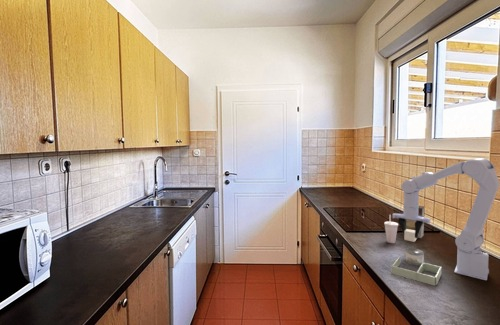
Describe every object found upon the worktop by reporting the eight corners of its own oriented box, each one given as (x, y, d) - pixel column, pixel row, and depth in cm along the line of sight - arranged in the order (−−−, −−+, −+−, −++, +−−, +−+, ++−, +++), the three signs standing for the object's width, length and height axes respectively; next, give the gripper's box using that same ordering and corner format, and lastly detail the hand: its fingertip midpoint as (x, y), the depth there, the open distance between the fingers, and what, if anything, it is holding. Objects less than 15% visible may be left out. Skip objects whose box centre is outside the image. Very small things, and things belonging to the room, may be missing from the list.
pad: (439, 274, 104) (439, 273, 104) (434, 284, 97) (434, 284, 96) (423, 270, 107) (424, 269, 107) (418, 280, 100) (418, 279, 100)
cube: (416, 239, 122) (416, 230, 122) (414, 241, 119) (414, 233, 119) (406, 237, 125) (406, 228, 125) (404, 239, 122) (404, 231, 122)
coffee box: (402, 234, 148) (402, 205, 147) (405, 231, 153) (405, 203, 152) (421, 238, 142) (422, 208, 141) (424, 235, 146) (424, 206, 145)
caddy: (441, 274, 104) (441, 266, 103) (436, 286, 96) (436, 277, 95) (399, 263, 114) (399, 256, 113) (391, 273, 106) (391, 265, 105)
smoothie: (385, 238, 143) (386, 212, 142) (399, 241, 139) (399, 214, 138) (382, 242, 138) (382, 215, 137) (396, 245, 134) (397, 217, 133)
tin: (425, 262, 115) (425, 251, 114) (421, 267, 110) (422, 256, 110) (407, 257, 119) (407, 247, 119) (403, 262, 114) (403, 251, 114)
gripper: (431, 207, 119) (431, 237, 120) (395, 202, 129) (395, 230, 130) (428, 210, 114) (428, 241, 115) (391, 205, 124) (390, 234, 125)
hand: (410, 236), depth 122 cm, fingers closed on cube, 4 cm apart
